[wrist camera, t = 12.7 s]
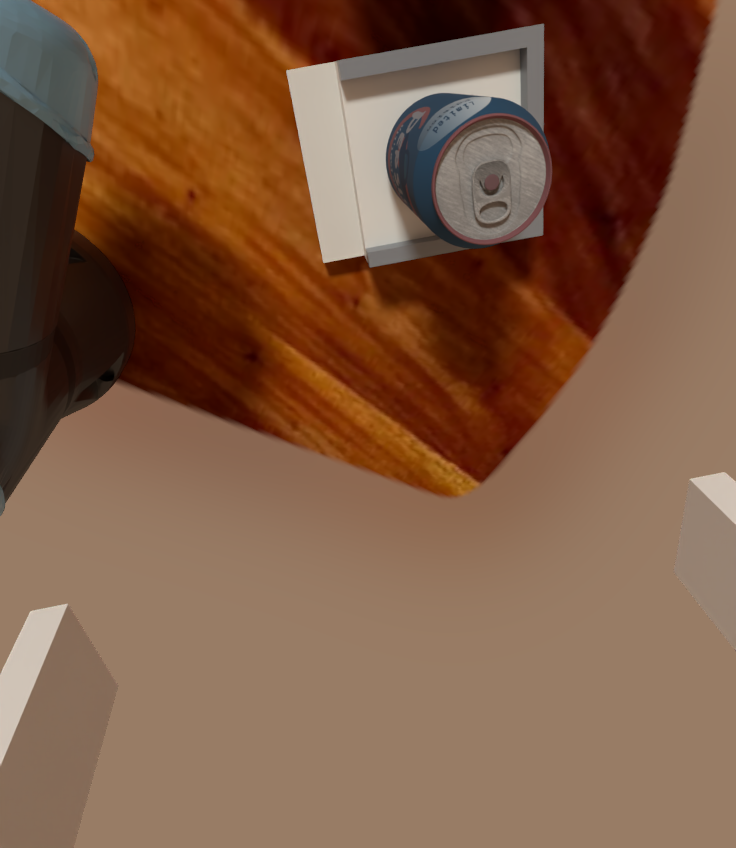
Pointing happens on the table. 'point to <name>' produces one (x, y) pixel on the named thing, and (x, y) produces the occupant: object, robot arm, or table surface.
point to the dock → (373, 122)
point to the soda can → (470, 167)
